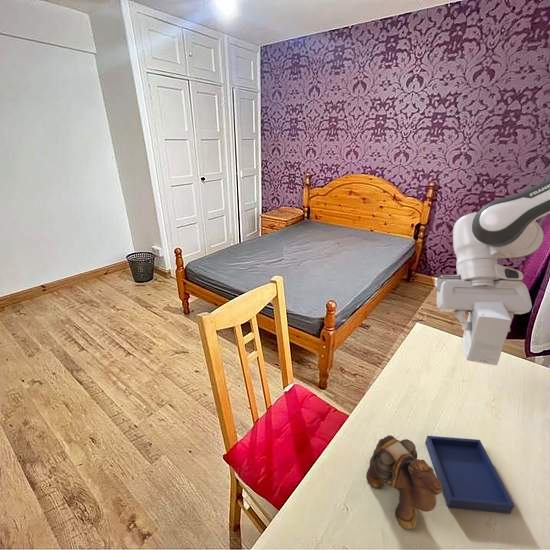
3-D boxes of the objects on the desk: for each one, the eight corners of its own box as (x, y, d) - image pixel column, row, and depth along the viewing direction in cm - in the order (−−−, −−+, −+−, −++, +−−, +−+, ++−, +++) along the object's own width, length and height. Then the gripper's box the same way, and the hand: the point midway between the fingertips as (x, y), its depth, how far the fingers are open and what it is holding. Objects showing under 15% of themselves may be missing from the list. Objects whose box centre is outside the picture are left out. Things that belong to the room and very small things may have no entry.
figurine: (407, 549, 53) (424, 501, 46) (351, 469, 65) (358, 422, 59) (444, 521, 57) (465, 472, 50) (385, 450, 69) (395, 404, 62)
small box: (497, 366, 71) (513, 320, 66) (466, 360, 74) (478, 316, 68) (489, 344, 78) (503, 301, 72) (461, 340, 80) (472, 297, 74)
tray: (476, 447, 69) (479, 439, 68) (510, 513, 57) (514, 506, 56) (424, 442, 70) (427, 435, 69) (447, 507, 59) (450, 500, 57)
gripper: (439, 270, 75) (445, 327, 71) (530, 272, 72) (542, 331, 68) (429, 278, 81) (434, 330, 76) (513, 280, 78) (523, 334, 74)
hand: (486, 331), depth 72 cm, fingers closed on small box, 7 cm apart
